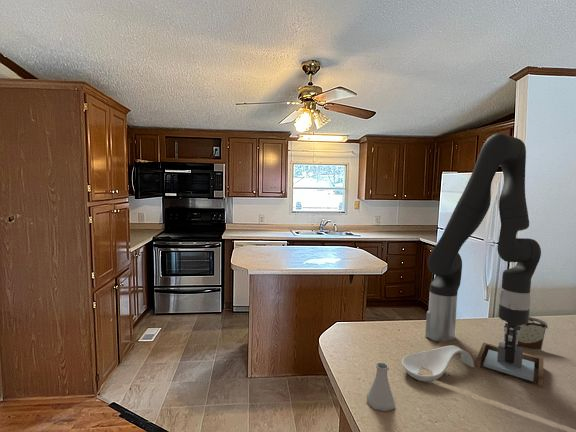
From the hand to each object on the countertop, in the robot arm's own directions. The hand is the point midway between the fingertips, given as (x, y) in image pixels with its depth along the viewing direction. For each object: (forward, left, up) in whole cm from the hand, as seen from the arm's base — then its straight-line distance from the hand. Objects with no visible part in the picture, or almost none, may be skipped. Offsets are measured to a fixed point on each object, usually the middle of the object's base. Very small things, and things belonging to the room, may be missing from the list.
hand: (509, 359), depth 99 cm
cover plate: (0, 0, -2) cm, 2 cm away
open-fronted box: (0, 0, -4) cm, 4 cm away
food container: (+2, +24, -4) cm, 25 cm away
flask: (-24, -39, -4) cm, 46 cm away
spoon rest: (-17, -14, -4) cm, 22 cm away
